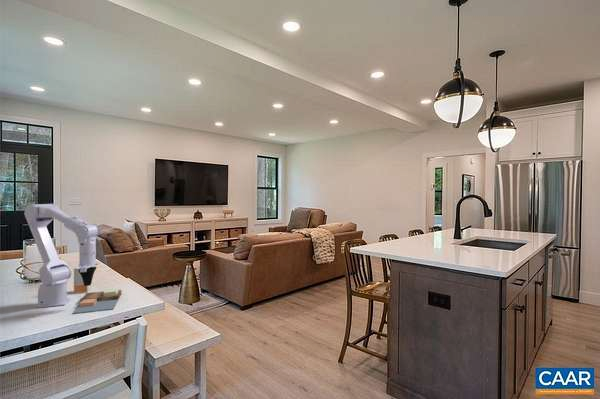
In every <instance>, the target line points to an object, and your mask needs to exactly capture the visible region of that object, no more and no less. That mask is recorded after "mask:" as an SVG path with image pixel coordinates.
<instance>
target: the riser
mask: <svg viewBox="0 0 600 399" xmlns="http://www.w3.org/2000/svg"><path fill="white" fill-rule="evenodd" d="M104 291H105V290H104ZM104 291H94V292H85V294H84V296H83V297H82V298H80V300H81V301H80V303H81V302H82V301H83V300H85V299H95V298H97V301H107V300H117V299H118V301H119V299H120V298H121V296H122V289H118V293H117V295H110V296H103V293H104Z"/></svg>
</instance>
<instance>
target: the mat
mask: <svg viewBox="0 0 600 399" xmlns="http://www.w3.org/2000/svg"><path fill="white" fill-rule="evenodd" d="M118 302H119V300H118V299H117V300H107V301H97V302H96V304H95V305H94V306H86V307H80V304H79V305H78V306H77V308H75V310H74V311H73V312H72V315H76V314H85V313H93V312H95V313H96V312H102V311H111V310H112V311H113V310H114V309H115V307H116V305H117V304H118Z"/></svg>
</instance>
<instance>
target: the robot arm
mask: <svg viewBox="0 0 600 399" xmlns="http://www.w3.org/2000/svg"><path fill="white" fill-rule="evenodd" d="M23 214H24V218H25V219H26V221H27V224H28V226H29V229H30V232H31V234H32V237H33V239H34V242H35V245H36V248H37V250H38V253H39V255H40V257H41V259H42V263H43V265H42V266H41V267H40V268H39V270H38V271H39V276H40V277H39V278H40V282H41V283H42V284H40V285H39V287H38V290H37V306H36V308H38V309H39V308H47V307H48V308H49V307H57V306H65V305H66V304H67V303H68V302H69V301H70V300H71V298H70V297H69V298H68V294H67V293H68V287H67V286H68V281H69V279H70V278H71V277H72V269H71V267H70V266H69V265H68V263H67V262H66V261H65V260H63V259H60V257H59V255H58V252H57V250H56V246H55V245H54V243H53V240H52V237H51V235H50V233H49V230H48V228H47V227H48V225H49V224H51V222H52V221H53V220H56V221H58V222H61V223H63V225H64V227H65V229H67V230H69V231H71V232H73V233H74V234H75V236H76V238H77V242H78V244H79V250H78V252H79V253H78V254H79V257H78V258H79V263H78V267H80V269H79V273H80V275H81V276H82V279H83V283H84V286H89V285H91V286H92V283H93V278H94V274H95V271H96V270H97V266H99V265H100V262H97V260H96V259H97V256H96V255H97V237H98V236H99V235H100V228H99V226H98V225H97V224H96V223H88V221H85V220H83V219H80V217H79V216H78V215H73V216H70V215H68V213H65V212H64V211H63V210H61V209H60V208H59V206H58V205H56V204H54V203H41V204H39V203H37V204H35V203H31V204H28V205H27V206H26V207H25V210H24V212H23Z"/></svg>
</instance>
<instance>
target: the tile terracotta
mask: <svg viewBox="0 0 600 399" xmlns="http://www.w3.org/2000/svg"><path fill="white" fill-rule="evenodd" d="M96 302H97V298H95V299H85V300H83V301H82V302H81V301H80V303H79V305H80V307H86V306H94V305H95V304H96Z"/></svg>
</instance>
